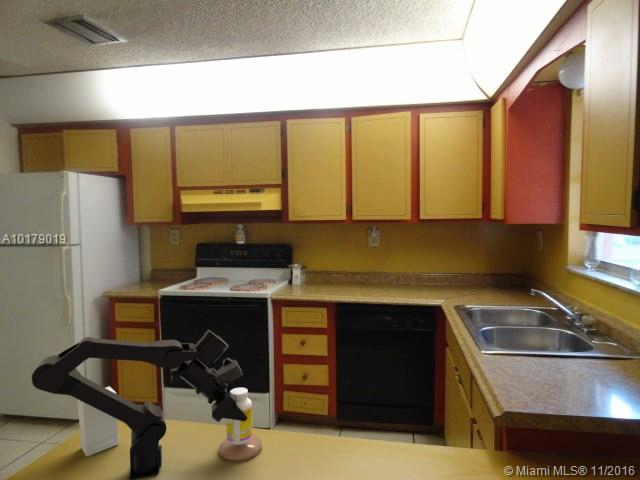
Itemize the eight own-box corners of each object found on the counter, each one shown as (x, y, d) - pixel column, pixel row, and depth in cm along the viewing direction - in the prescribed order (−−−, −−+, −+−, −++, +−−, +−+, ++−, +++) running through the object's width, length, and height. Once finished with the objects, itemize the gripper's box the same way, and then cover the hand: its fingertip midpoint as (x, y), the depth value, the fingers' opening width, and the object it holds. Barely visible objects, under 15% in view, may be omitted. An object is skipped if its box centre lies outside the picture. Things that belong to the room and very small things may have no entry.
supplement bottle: (255, 433, 107) (254, 386, 107) (248, 446, 100) (247, 396, 100) (231, 432, 108) (230, 385, 107) (223, 445, 101) (222, 395, 101)
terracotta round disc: (220, 465, 97) (220, 460, 97) (218, 442, 108) (217, 437, 108) (264, 456, 101) (264, 451, 101) (258, 435, 111) (258, 430, 111)
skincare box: (112, 437, 111) (111, 385, 111) (119, 445, 107) (118, 391, 106) (78, 449, 105) (76, 394, 105) (84, 458, 101) (82, 401, 101)
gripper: (226, 364, 93) (272, 404, 97) (220, 343, 111) (260, 377, 115) (191, 402, 91) (240, 441, 95) (191, 374, 109) (233, 407, 113)
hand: (244, 413), depth 104 cm, fingers closed on supplement bottle, 6 cm apart
